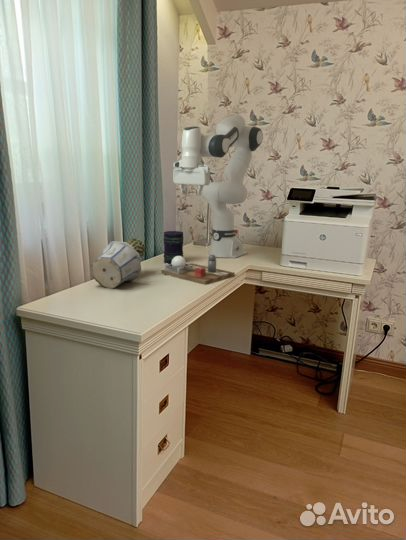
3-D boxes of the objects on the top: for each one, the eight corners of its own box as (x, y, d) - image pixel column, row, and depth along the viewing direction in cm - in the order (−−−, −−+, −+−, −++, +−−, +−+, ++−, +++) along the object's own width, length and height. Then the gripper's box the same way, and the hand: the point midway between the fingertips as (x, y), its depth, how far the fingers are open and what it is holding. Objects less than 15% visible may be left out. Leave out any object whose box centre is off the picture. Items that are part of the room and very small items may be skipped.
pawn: (212, 270, 192) (212, 253, 190) (217, 271, 190) (218, 254, 188) (206, 271, 190) (206, 254, 188) (211, 272, 187) (212, 255, 186)
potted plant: (122, 255, 158) (155, 226, 183) (81, 254, 164) (118, 225, 189) (131, 296, 166) (161, 263, 191) (91, 293, 171) (125, 261, 197)
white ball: (178, 267, 195) (178, 253, 194) (188, 270, 191) (188, 255, 190) (168, 269, 191) (168, 255, 189) (178, 272, 187) (178, 258, 185)
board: (191, 266, 206) (191, 256, 205) (234, 275, 189) (234, 265, 188) (161, 273, 192) (161, 263, 190) (204, 284, 175) (204, 273, 174)
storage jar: (186, 263, 212) (186, 233, 208) (167, 264, 208) (167, 234, 205) (179, 259, 221) (179, 230, 217) (161, 260, 217) (160, 231, 214)
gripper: (213, 164, 190) (212, 195, 193) (180, 163, 203) (180, 193, 206) (203, 164, 185) (203, 196, 188) (170, 163, 198) (170, 193, 201)
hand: (190, 194), depth 197 cm, fingers open, 8 cm apart
